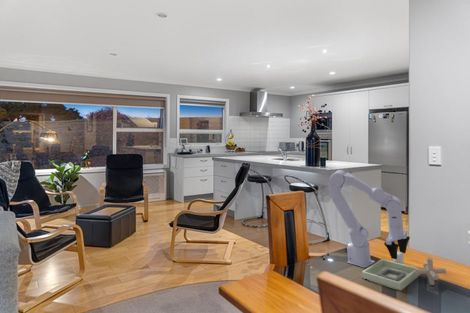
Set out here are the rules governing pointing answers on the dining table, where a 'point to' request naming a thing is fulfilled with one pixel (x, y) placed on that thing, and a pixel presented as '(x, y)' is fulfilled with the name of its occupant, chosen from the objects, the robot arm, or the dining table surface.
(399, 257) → the pvc coupling
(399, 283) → the walled box
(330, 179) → the robot arm
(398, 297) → the dining table surface
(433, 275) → the grey toy jack
